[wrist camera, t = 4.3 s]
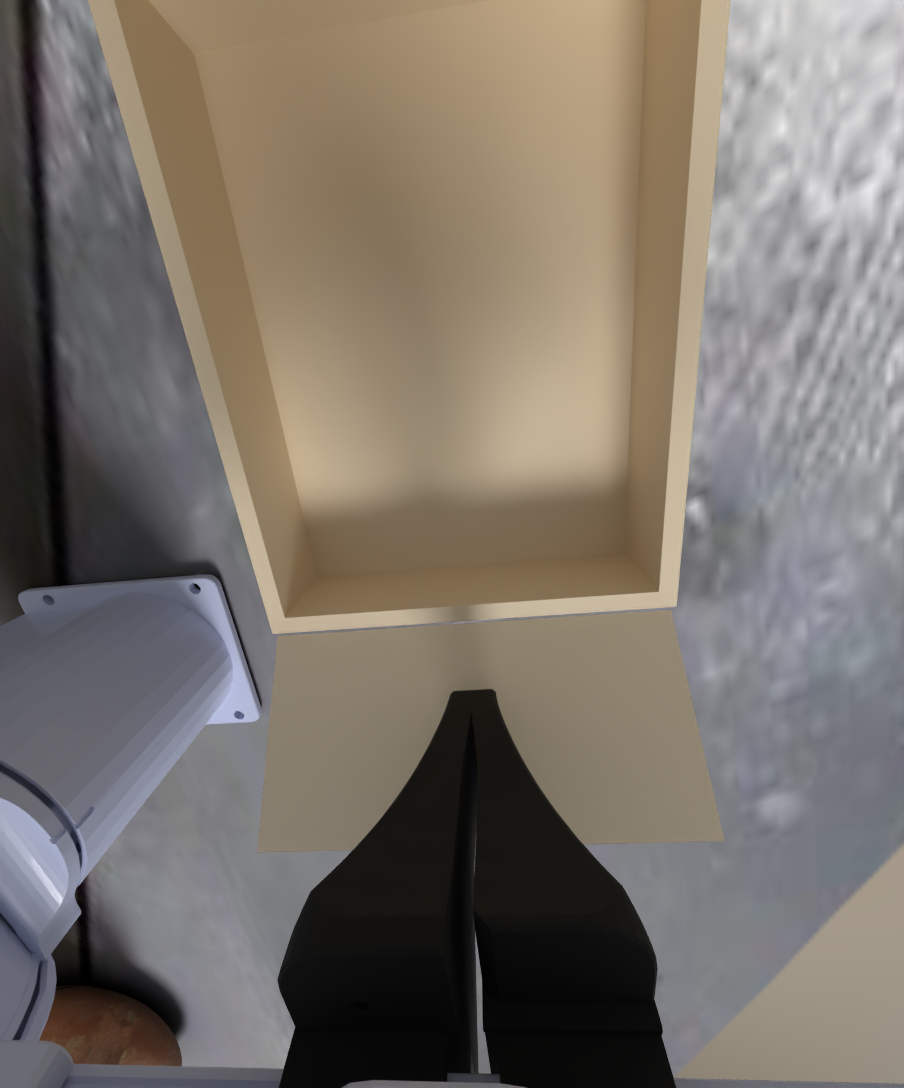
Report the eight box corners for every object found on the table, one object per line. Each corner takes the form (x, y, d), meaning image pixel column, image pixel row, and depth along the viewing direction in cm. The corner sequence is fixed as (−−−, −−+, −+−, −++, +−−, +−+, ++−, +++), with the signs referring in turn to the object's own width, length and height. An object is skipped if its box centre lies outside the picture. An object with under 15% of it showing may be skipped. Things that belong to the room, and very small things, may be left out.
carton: (312, 584, 19) (272, 633, 15) (181, 45, 13) (60, -95, 9) (633, 560, 18) (676, 606, 14) (662, -44, 12) (752, -247, 8)
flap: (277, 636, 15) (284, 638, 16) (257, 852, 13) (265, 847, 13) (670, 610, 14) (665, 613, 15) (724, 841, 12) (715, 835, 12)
